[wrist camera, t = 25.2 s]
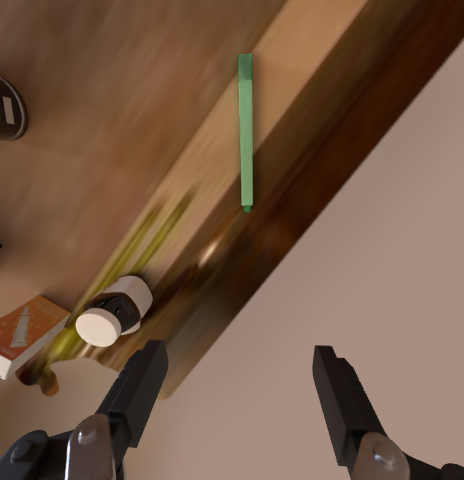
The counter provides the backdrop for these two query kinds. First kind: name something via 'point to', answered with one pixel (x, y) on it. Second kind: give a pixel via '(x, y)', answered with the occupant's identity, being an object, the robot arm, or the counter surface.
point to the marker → (246, 128)
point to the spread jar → (114, 311)
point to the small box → (28, 332)
